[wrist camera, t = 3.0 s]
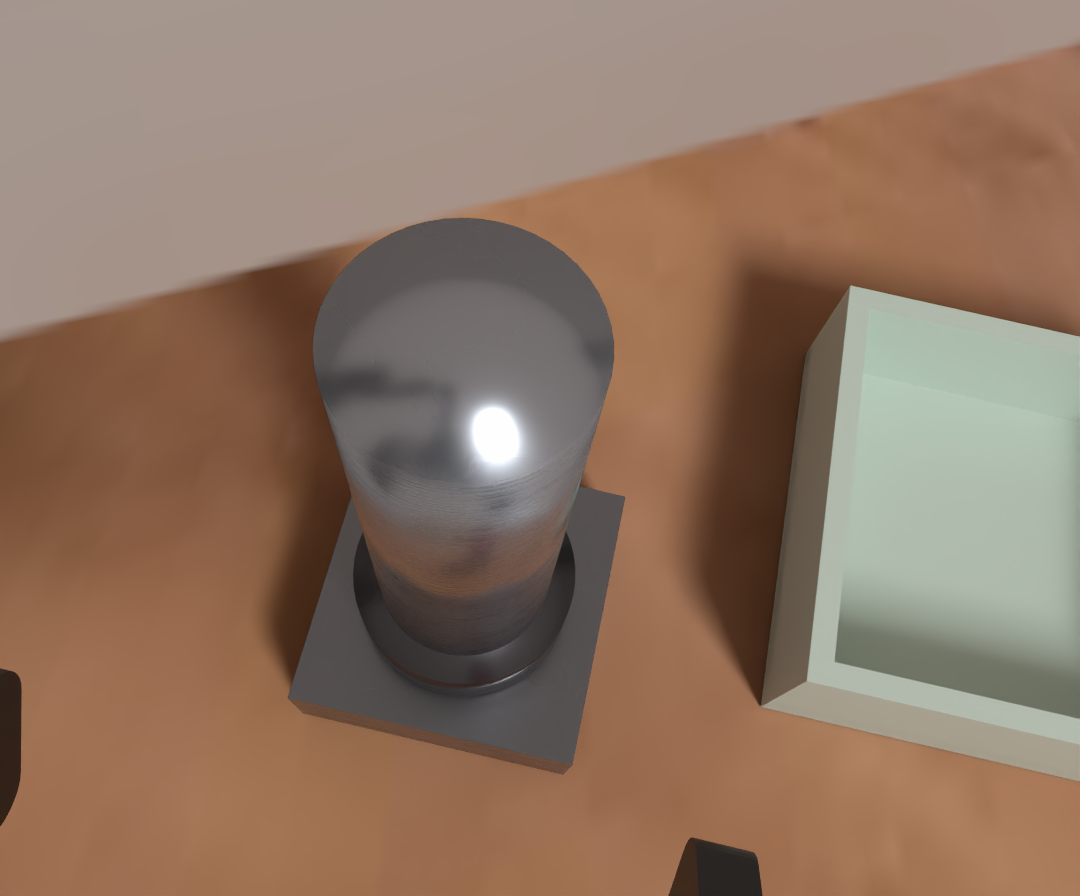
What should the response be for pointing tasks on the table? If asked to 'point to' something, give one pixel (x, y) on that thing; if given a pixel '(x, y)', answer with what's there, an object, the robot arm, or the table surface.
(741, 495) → the table surface
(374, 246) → the silver domed cylinder
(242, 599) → the table surface
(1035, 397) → the bin
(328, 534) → the table surface
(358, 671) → the stud block
